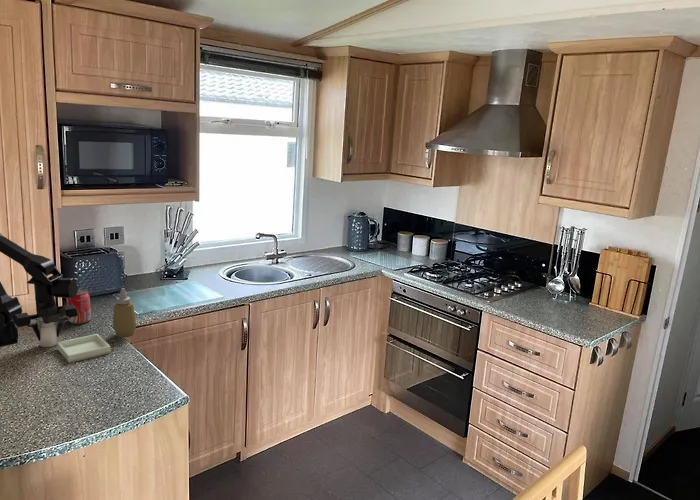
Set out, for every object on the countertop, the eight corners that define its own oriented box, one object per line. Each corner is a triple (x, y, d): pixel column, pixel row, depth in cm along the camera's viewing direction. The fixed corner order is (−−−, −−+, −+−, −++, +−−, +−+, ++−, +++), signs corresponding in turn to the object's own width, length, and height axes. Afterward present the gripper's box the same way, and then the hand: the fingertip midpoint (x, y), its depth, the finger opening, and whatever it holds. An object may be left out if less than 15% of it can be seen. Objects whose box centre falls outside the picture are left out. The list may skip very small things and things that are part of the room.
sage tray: (68, 362, 176) (68, 355, 175) (57, 349, 185) (57, 342, 185) (110, 353, 185) (110, 346, 184) (97, 340, 194) (97, 333, 193)
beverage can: (68, 318, 212) (66, 289, 209) (90, 316, 215) (88, 287, 213) (68, 326, 205) (66, 296, 202) (91, 323, 209) (89, 294, 206)
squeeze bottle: (140, 331, 204) (138, 285, 200) (132, 339, 196) (130, 292, 192) (118, 330, 203) (115, 284, 199) (109, 338, 196) (107, 291, 191)
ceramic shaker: (42, 348, 185) (40, 323, 182) (38, 343, 188) (36, 319, 186) (59, 344, 188) (57, 320, 186) (55, 339, 192) (53, 316, 190)
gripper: (18, 308, 172) (23, 353, 176) (81, 297, 184) (84, 340, 188) (11, 298, 180) (15, 341, 184) (71, 289, 192) (74, 329, 196)
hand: (48, 338), depth 188 cm, fingers closed on ceramic shaker, 5 cm apart
